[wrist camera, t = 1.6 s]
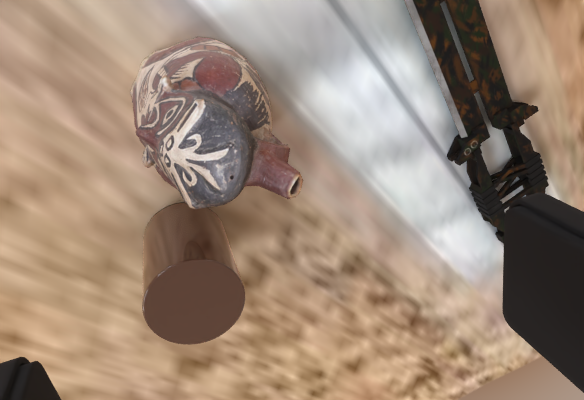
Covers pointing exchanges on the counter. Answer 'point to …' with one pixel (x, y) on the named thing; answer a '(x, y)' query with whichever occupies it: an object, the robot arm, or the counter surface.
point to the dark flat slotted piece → (466, 110)
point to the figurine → (209, 124)
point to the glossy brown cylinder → (189, 276)
